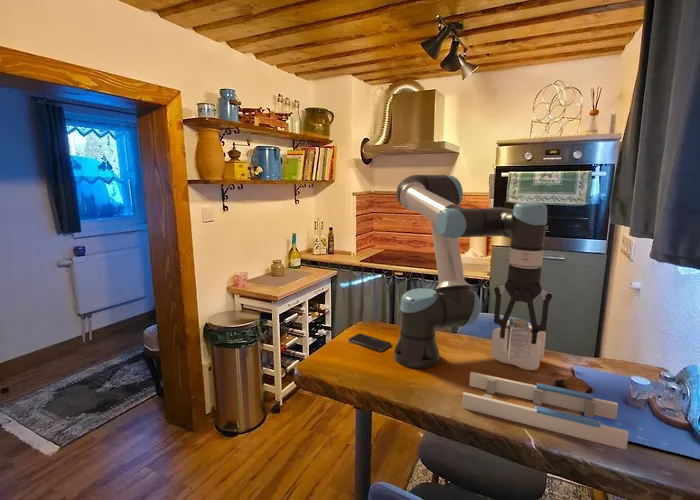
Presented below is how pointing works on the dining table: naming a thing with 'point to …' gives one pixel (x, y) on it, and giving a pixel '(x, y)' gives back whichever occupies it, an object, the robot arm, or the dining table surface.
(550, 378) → the dining table surface
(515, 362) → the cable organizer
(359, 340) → the phone
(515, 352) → the medicine box
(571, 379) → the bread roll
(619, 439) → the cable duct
